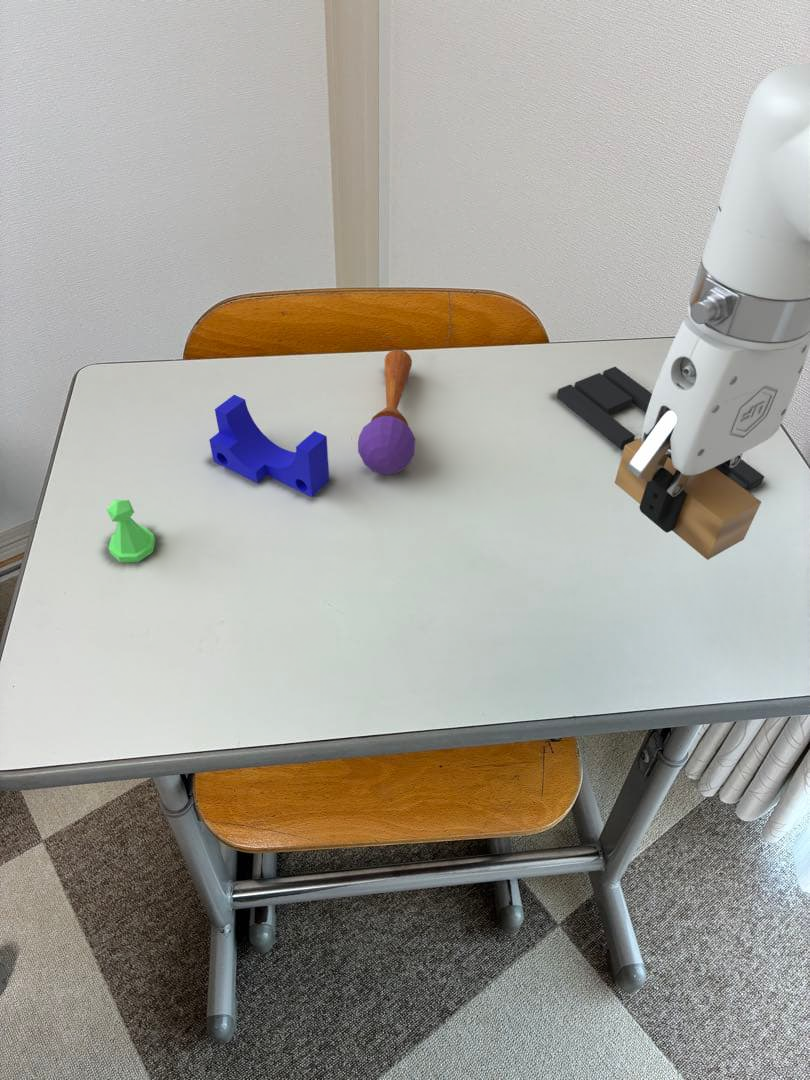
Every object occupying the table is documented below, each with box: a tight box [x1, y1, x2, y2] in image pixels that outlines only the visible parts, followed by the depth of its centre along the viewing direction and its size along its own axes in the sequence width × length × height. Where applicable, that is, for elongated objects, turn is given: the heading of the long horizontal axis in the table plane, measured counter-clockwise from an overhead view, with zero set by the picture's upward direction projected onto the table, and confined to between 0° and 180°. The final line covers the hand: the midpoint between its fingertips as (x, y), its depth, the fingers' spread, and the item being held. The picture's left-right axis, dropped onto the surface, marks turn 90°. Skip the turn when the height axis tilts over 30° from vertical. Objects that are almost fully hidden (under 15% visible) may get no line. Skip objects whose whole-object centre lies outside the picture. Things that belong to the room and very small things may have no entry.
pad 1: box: [556, 366, 653, 450], centre depth 92 cm, size 11×9×1 cm
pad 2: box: [728, 458, 765, 491], centre depth 85 cm, size 11×9×1 cm
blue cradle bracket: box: [208, 394, 330, 498], centre depth 82 cm, size 12×4×6 cm, turn 58°
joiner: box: [614, 437, 762, 561], centre depth 61 cm, size 10×4×4 cm, turn 33°
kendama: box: [357, 349, 416, 475], centre depth 88 cm, size 6×6×20 cm
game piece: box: [106, 499, 157, 563], centre depth 74 cm, size 4×4×6 cm
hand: (678, 507), depth 62 cm, fingers closed on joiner, 4 cm apart
